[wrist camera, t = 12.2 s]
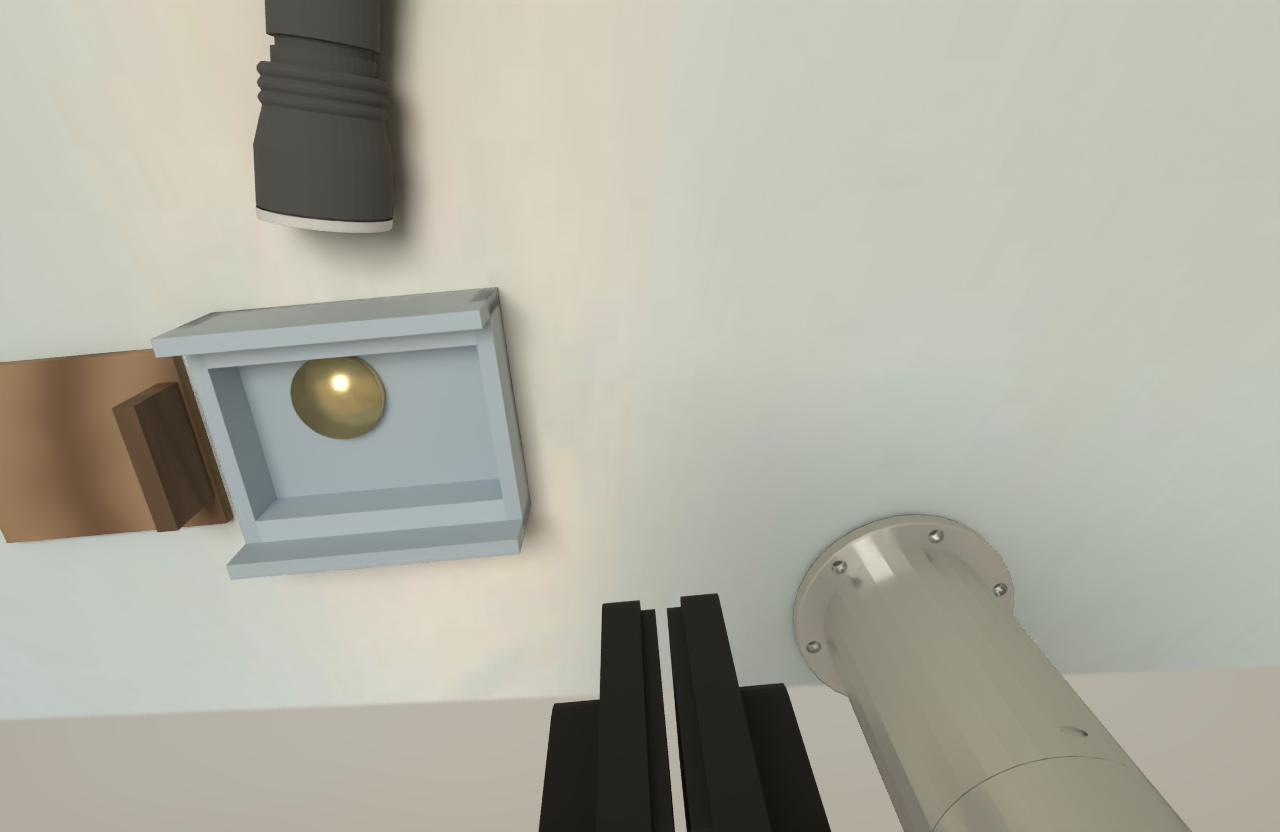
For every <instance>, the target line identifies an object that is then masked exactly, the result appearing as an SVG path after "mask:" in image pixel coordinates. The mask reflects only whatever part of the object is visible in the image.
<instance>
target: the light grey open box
mask: <svg viewBox="0 0 1280 832" xmlns="http://www.w3.org/2000/svg"><path fill="white" fill-rule="evenodd" d="M150 341H151V344H152V347H153V350H154V353H155V356H156V358H158V357H169V356H181V355H185V356H186V359H187V362H188V365H189V368H190V371H191V374H192V377H193V380H194V384H195V387H196V390H197V393H198V396H199V399H200V402H201V405H202V408H203V412H204V415H205V418H206V421H207V424H208V427H209V430H210V433H211V436H212V440H213V443H214V446H215V449H216V452H217V455H218V458H219V461H220V464H221V468H222V471H223V474H224V477H225V480H226V483H227V486H228V489H229V492H230V495H231V499H232V502H233V505H234V508H235V511H236V514H237V517H238V520H239V523H240V527H241V530H242V533H243V536H244V539H245V542H246V544H245V545H244V547H243V548H242V549H241V550H240V551H239V552H238V553H237V554H236V555H235V557H234V558H233V559H232V560H231V561H230V562H229V563H228V564H227V565H226V566H227V569H228V572H229V575H230V578H231V580H234V579H245V578H256V577H267V576H279V575H290V574H301V573H312V572H323V571H335V570H346V569H357V568H368V567H379V566H390V565H402V564H413V563H424V562H435V561H446V560H458V559H469V558H480V557H491V556H502V555H513V554H520V551H521V546H522V542H523V537H524V533H525V529H526V524H527V520H528V515H529V511H530V507H531V503H530V496H529V490H528V483H527V477H526V470H525V464H524V457H523V451H522V445H521V438H520V432H519V425H518V419H517V412H516V406H515V399H514V393H513V386H512V380H511V374H510V367H509V361H508V354H507V348H506V341H505V335H504V328H503V322H502V315H501V309H500V303H499V296H498V290H497V287H494V288H483V289H472V290H461V291H449V292H438V293H427V294H416V295H405V296H393V297H382V298H371V299H360V300H349V301H337V302H326V303H315V304H304V305H293V306H281V307H270V308H259V309H248V310H237V311H226V312H214V313H210V314H207V315H205V316H203V317H200V318H198V319H196V320H194V321H191V322H189V323H187V324H184V325H182V326H180V327H178V328H175V329H173V330H171V331H169V332H166V333H164V334H162V335H159V336H157V337H155V338H153V339H150ZM345 356H358V357H360V358H362V359H363V360H365V361H366V362H368V363H369V364H370V365H371V366H372V367H373V368H374V369H375V370H376V371H377V373H378V374H379V376H380V377H381V379H382V382H383V384H384V387H385V392H386V404H385V408H384V411H383V413H382V415H381V417H380V418H379V420H378V421H377V422H376V423H375V424H374V426H373V427H372V428H371V429H370V430H368V431H367V432H366V433H364V434H363V435H360V436H358V437H355V438H351V439H333V438H328V437H325V436H323V435H320V434H318V433H316V432H315V431H313V430H312V429H310V428H309V427H308V426H307V425H305V424H304V423H303V422H302V420H301V419H300V418H299V416H298V415H297V413H296V412H295V410H294V407H293V405H292V401H291V395H290V389H291V383H292V379H293V377H294V375H295V373H296V372H297V370H298V369H299V368H300V367H301V366H302V365H303V364H304V363H306V362H307V361H308V360H311V359H322V358H334V357H345Z"/></svg>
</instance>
